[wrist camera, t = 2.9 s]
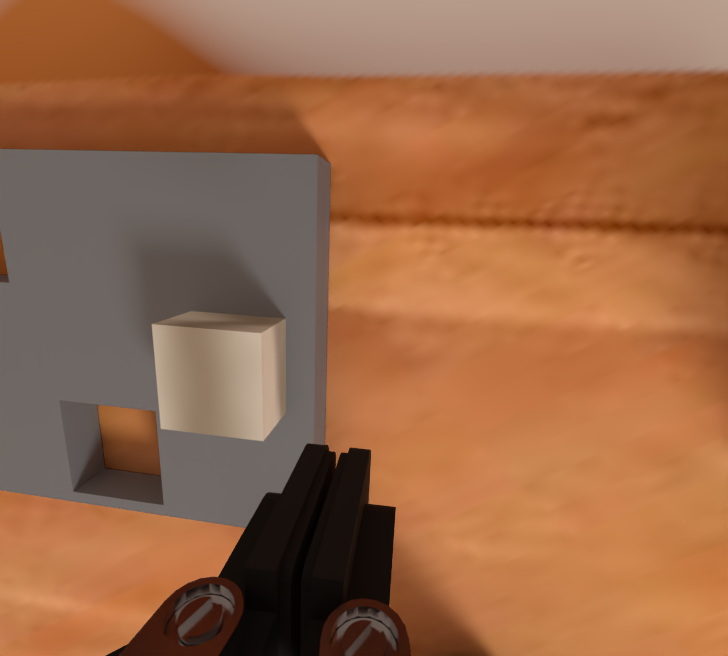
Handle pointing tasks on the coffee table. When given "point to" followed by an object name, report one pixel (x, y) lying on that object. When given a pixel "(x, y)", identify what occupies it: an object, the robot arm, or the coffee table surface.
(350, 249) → the coffee table surface
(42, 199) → the board
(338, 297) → the coffee table surface
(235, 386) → the cream block
